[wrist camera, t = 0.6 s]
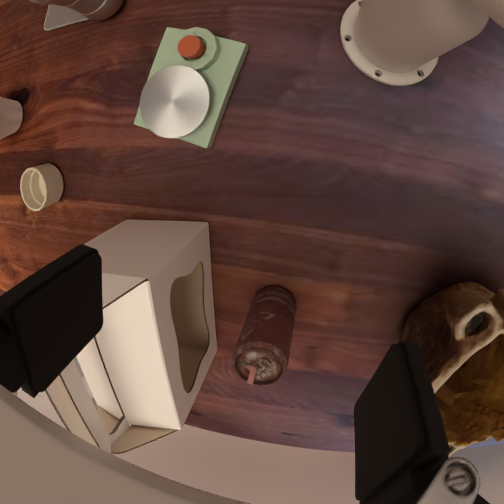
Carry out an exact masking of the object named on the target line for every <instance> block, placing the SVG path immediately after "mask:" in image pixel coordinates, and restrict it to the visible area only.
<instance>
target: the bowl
mask: <svg viewBox="0 0 504 504" xmlns="http://www.w3.org/2000/svg"><path fill="white" fill-rule="evenodd" d="M20 189H21V195H22V198H23V201H24V203H25V204H26V205H27V207H28V208H29V209H31V210H33V211H40V210H42V209H44V208H47V207H49V206H51V205H54V204H56V203H57V202H58V201H59V200H60V198H61V196H62V193H63V178H62V175H61V173H60V171H59V170H58V169H57V168H56V167H55V166H54V165H52V164H50V163H47V164H43V165H39V166H35V167H31V168H28V169H26V171H25V172H24V173H23V175H22V178H21V183H20Z"/></svg>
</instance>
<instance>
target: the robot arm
mask: <svg viewBox="0 0 504 504" xmlns="http://www.w3.org/2000/svg"><path fill="white" fill-rule="evenodd" d="M359 5H361V6H359ZM489 17H491V18H492V19H493V20H494V21H495V22H496V23H497V24H499V25H500V26H501V27H502V28H503V29H504V0H356V1H355V2H353V3H352V4H351V5H350V6H349V7H348V8H347V10H346V11H345V13H344V15H343V17H342V21H341V26H340V38H341V42H342V46H343V48H344V50H345V52H346V54H347V56H348V58H349V59H350V60H351V62H352V63H353V64H354V65H355V66H356V67H357V68H358V69H359V70H360V71H361V72H362V73H364V74H365V75H367V76H368V77H370V78H372V79H374V80H375V81H378V82H380V83H383V84H386V85H392V86H407V85H411V84H415V83H417V82H420V81H421V80H423V79H425V78H426V77H427V76H428V75H429V74H430V73H431V72H432V71H433V69H434V68H435V66H436V64H437V61H438V57H439V56H440V55H442V54H444V53H446V52H448V51H450V50H452V49H454V48H455V47H457V46H459V45H461V44H463V43H465V42H467V41H469V40H471V39H472V38H474V37H475V36H477V35H478V34H479V33H480V32H481V31H482V30H483V29H484V27H485V26H486V24H487V22H488V19H489ZM345 39H349V41H346V40H345ZM375 73H378V74H379V76H376V75H375ZM417 73H420V76H419V75H418V74H417ZM102 326H103V300H102V258H101V256H100V255H99V252H98V250H97V249H95V248H92V247H89V246H87V245H84V244H81V245H79V246H77V247H75V248H74V249H72V250H70V251H69V252H67V253H65V254H64V255H62V256H61V257H59V258H57V259H56V260H54V261H53V262H51V263H49V264H48V265H46V266H45V267H43V268H42V269H40V270H38V271H37V272H35V273H34V274H32V275H31V276H29V277H28V278H26V279H25V280H23V281H22V282H20V283H19V284H17V285H16V286H14V287H13V288H11V289H10V290H9V291H7V292H6V293H4V294H3V295H1V296H0V504H249V503H245V502H241V501H237V500H233V499H230V498H226V497H222V496H219V495H215V494H212V493H208V492H205V491H202V490H199V489H196V488H192V487H190V486H187V485H184V484H181V483H178V482H176V481H173V480H170V479H168V478H165V477H162V476H160V475H157V474H155V473H152V472H150V471H148V470H145V469H143V468H140V467H138V466H136V465H134V464H131V463H129V462H127V461H125V460H123V459H120V458H119V457H116V456H114V455H112V454H110V453H108V452H106V451H104V450H102V449H100V448H99V447H97V446H95V445H93V444H91V443H89V442H87V441H86V440H84V439H82V438H80V437H78V436H77V435H75V434H73V433H71V432H70V431H68V430H66V429H65V428H63V427H61V426H60V425H58V424H56V423H55V422H53V421H52V420H50V419H49V418H47V417H46V416H44V415H42V414H41V413H39V412H38V411H36V410H35V409H33V408H32V407H31V406H29V405H28V404H26V403H25V402H24V401H22V400H21V399H19V398H18V397H17V390H18V389H19V388H20V387H21V388H22V390H23V391H24V392H26V393H28V394H29V395H30V396H32V397H33V398H35V396H36V395H37V394H38V393H39V392H44V391H45V390H46V389H47V388H48V387H49V386H50V385H51V383H52V382H53V381H54V380H55V379H56V378H57V377H58V376H59V375H60V373H61V372H62V371H63V370H64V369H65V368H66V367H67V366H68V365H69V364H70V363H71V361H72V360H73V359H74V358H75V357H76V356H77V355H78V354H79V353H80V352H81V351H82V350H83V349H84V347H85V346H86V345H87V344H88V343H89V342H90V341H91V340H92V339H93V338H94V337H95V336H96V335H97V334H98V333H99V332H100V330H101V329H102ZM354 426H355V497H356V499H357V500H360V504H490V503H488V502H487V501H486V500H485V499H484V498H482V497H481V496H480V495H479V494H478V492H479V488H480V476H479V473H478V471H477V469H476V468H475V466H474V465H473V464H472V463H471V462H470V461H468V460H466V459H465V458H461V457H451V458H448V453H447V452H449V451H450V448H449V444H448V440H447V436H446V432H445V428H444V424H443V421H442V417H441V414H440V410H439V407H438V403H437V400H436V397H435V393H434V390H433V387H432V384H431V381H430V378H429V375H428V372H427V369H426V366H425V363H424V360H423V357H422V354H421V351H420V348H419V346H418V345H417V344H414V343H410V342H406V341H399V342H398V343H397V344H393V345H392V346H391V347H390V349H389V350H388V352H387V354H386V356H385V357H384V359H383V361H382V362H381V364H380V366H379V367H378V369H377V370H376V372H375V374H374V375H373V377H372V378H371V380H370V382H369V383H368V385H367V386H366V388H365V389H364V391H363V392H362V394H361V395H360V397H359V398H358V400H357V402H356V404H355V407H354Z"/></svg>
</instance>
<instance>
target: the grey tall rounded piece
mask: <svg viewBox="0 0 504 504" xmlns="http://www.w3.org/2000/svg"><path fill="white" fill-rule="evenodd" d="M28 1H29V2H31V3H37V4H52V5H58V6H63V7H67V8H70V9H72V10H74V11H76V12H78V13H80V14H81V15H83V16H84V17H86V18H88V19H91V20H104V19H107V18H109V17H111V16H112V15H114V14H115V13H116V12H117V11H118V10H119V9H120V7H121V5H122V3H123V0H28Z"/></svg>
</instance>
